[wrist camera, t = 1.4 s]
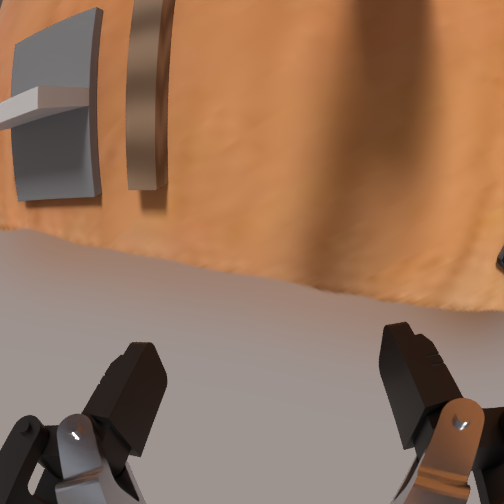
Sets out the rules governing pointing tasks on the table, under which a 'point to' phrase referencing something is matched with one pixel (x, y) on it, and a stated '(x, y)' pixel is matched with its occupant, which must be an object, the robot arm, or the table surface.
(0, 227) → the table surface
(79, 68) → the stand
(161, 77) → the walnut bar
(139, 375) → the robot arm
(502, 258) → the phone
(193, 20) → the table surface
